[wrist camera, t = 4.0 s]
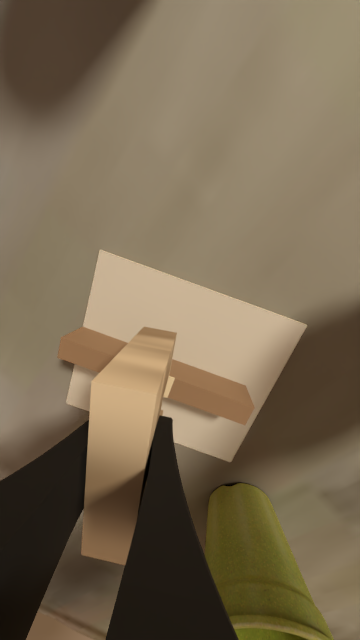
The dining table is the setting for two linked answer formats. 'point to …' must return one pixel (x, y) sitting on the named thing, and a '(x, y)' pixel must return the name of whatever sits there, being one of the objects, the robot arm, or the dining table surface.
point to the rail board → (184, 350)
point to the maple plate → (123, 441)
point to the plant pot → (258, 569)
